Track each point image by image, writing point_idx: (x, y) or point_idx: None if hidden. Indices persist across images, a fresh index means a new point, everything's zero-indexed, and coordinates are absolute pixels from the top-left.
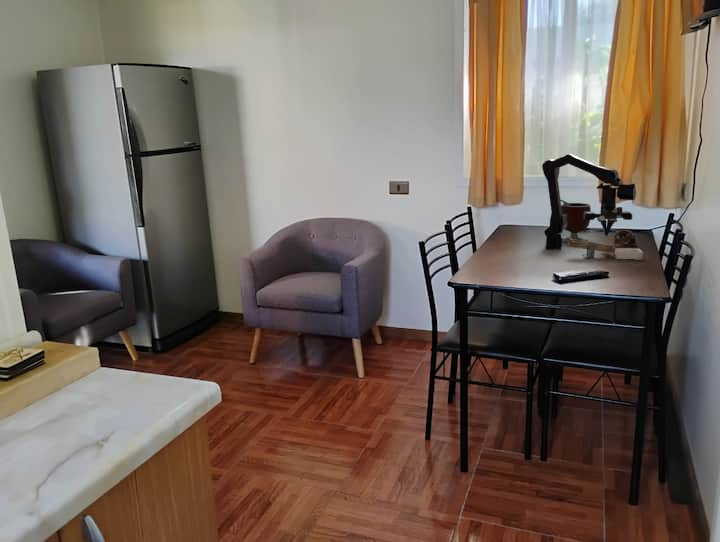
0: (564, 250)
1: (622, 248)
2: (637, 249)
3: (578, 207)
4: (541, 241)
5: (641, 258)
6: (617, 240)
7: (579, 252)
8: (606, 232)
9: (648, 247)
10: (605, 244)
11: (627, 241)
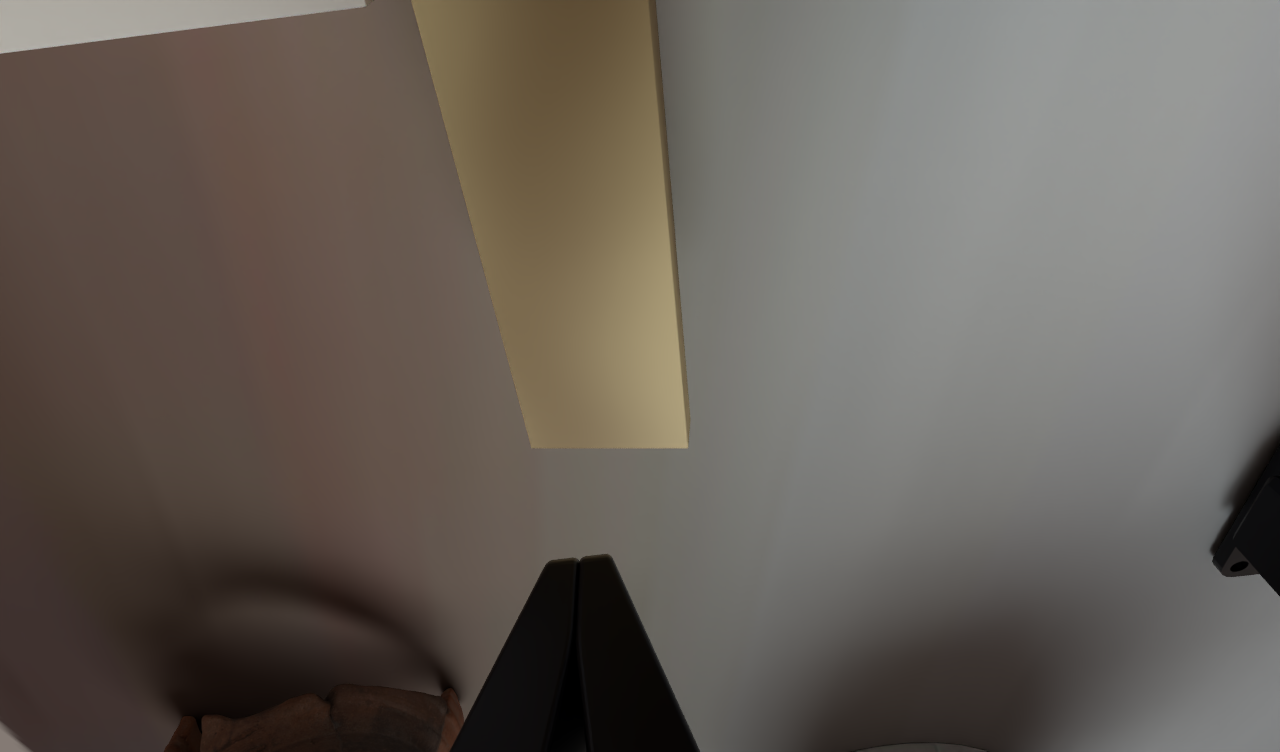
0: (1273, 358)
1: (77, 33)
2: None
3: None
4: (1255, 736)
5: None
6: (397, 744)
7: (1080, 237)
8: (585, 646)
9: (12, 687)
10: (586, 447)
11: (239, 724)
